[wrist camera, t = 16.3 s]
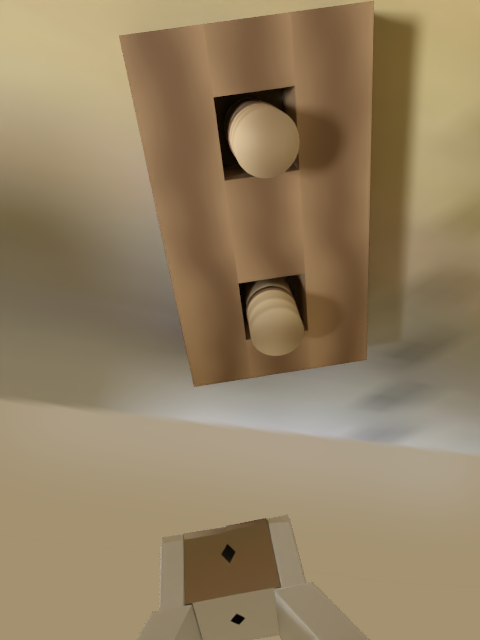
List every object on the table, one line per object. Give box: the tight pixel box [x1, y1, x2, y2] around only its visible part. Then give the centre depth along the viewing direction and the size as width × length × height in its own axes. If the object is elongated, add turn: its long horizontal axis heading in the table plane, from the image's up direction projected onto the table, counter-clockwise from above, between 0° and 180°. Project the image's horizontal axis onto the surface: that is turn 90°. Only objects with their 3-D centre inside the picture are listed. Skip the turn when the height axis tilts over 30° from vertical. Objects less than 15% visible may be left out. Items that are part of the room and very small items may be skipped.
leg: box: [243, 276, 304, 356], centre depth 34 cm, size 4×4×8 cm
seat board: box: [119, 1, 374, 387], centre depth 33 cm, size 14×24×4 cm, turn 7°
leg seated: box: [224, 97, 300, 178], centre depth 28 cm, size 4×4×8 cm
